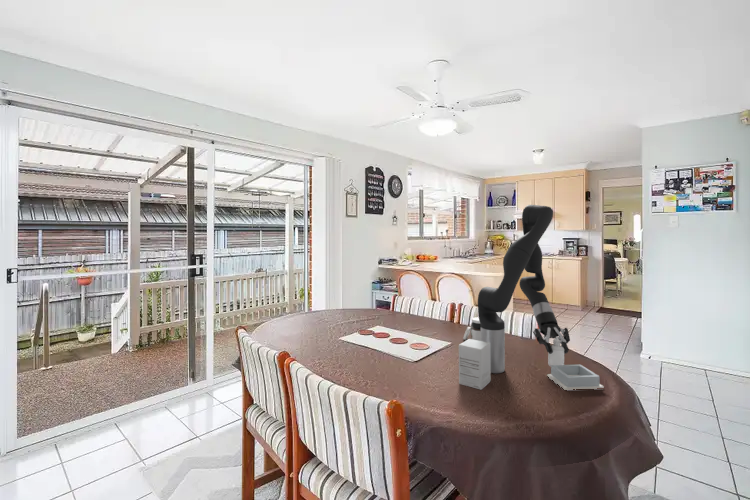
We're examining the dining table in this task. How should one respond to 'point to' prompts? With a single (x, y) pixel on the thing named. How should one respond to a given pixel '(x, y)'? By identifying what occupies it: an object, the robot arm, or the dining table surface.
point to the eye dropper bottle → (556, 353)
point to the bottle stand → (574, 377)
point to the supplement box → (474, 363)
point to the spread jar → (474, 330)
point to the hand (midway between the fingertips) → (558, 352)
